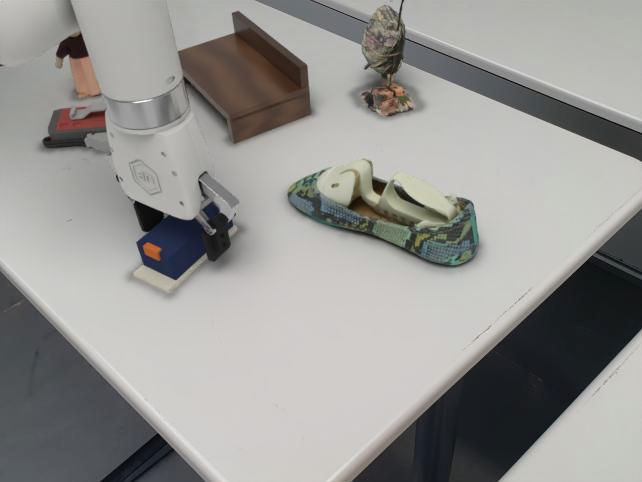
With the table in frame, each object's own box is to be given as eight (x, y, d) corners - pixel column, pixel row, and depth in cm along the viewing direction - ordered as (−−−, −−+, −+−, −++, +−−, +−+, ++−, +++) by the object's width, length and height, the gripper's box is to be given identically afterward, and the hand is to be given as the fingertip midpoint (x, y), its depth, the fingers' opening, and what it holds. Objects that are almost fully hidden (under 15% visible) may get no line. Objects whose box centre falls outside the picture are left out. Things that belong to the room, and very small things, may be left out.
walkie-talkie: (42, 161, 93) (191, 149, 93) (30, 133, 89) (184, 120, 90) (54, 125, 98) (194, 113, 99) (43, 97, 95) (188, 85, 95)
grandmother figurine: (76, 109, 101) (46, 23, 92) (65, 99, 103) (34, 14, 94) (123, 90, 104) (98, 5, 95) (111, 80, 106) (86, -4, 97)
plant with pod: (401, 76, 103) (406, -71, 88) (424, 116, 95) (433, -37, 80) (347, 84, 102) (343, -62, 87) (366, 125, 94) (366, -27, 79)
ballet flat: (310, 176, 88) (306, 119, 82) (493, 234, 79) (503, 175, 73) (273, 216, 83) (265, 159, 77) (462, 282, 74) (471, 224, 68)
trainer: (170, 297, 75) (160, 265, 71) (135, 280, 77) (123, 247, 73) (238, 234, 81) (232, 200, 77) (204, 219, 83) (197, 186, 79)
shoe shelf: (234, 148, 92) (225, 94, 86) (175, 85, 104) (163, 33, 98) (311, 119, 96) (307, 64, 90) (245, 61, 108) (238, 10, 102)
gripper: (52, 95, 65) (106, 233, 78) (191, 144, 58) (225, 287, 71) (109, 60, 69) (152, 197, 82) (245, 102, 62) (268, 244, 75)
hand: (186, 238), depth 77 cm, fingers open, 9 cm apart
